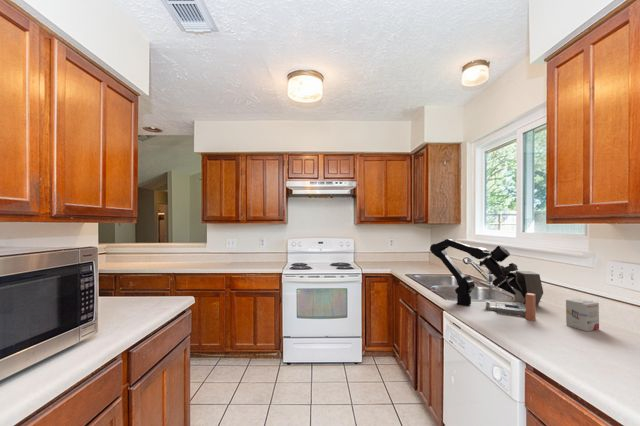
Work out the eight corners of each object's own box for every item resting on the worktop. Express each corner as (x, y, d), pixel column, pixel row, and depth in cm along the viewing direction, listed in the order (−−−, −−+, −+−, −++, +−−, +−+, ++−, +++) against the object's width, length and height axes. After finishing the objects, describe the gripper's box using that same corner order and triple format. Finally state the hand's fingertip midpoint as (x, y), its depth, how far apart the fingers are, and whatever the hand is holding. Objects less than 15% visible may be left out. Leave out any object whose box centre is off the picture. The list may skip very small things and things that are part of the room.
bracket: (485, 309, 164) (485, 301, 164) (485, 308, 166) (485, 300, 166) (496, 310, 162) (496, 303, 162) (496, 309, 164) (496, 302, 164)
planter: (509, 288, 192) (518, 263, 181) (523, 289, 191) (532, 264, 180) (520, 310, 178) (531, 284, 167) (535, 311, 177) (546, 285, 166)
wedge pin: (525, 319, 149) (525, 294, 149) (528, 317, 152) (528, 292, 152) (532, 320, 147) (533, 295, 147) (535, 319, 150) (535, 294, 150)
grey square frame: (496, 312, 159) (496, 307, 159) (495, 306, 171) (495, 301, 171) (529, 317, 152) (529, 312, 152) (526, 309, 165) (526, 305, 165)
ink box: (578, 323, 144) (578, 297, 144) (599, 329, 136) (599, 302, 136) (565, 324, 142) (565, 299, 142) (586, 331, 134) (586, 304, 134)
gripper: (499, 259, 152) (525, 285, 143) (513, 256, 164) (537, 280, 155) (482, 273, 158) (506, 299, 149) (496, 269, 170) (520, 293, 161)
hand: (518, 292), depth 153 cm, fingers open, 9 cm apart
